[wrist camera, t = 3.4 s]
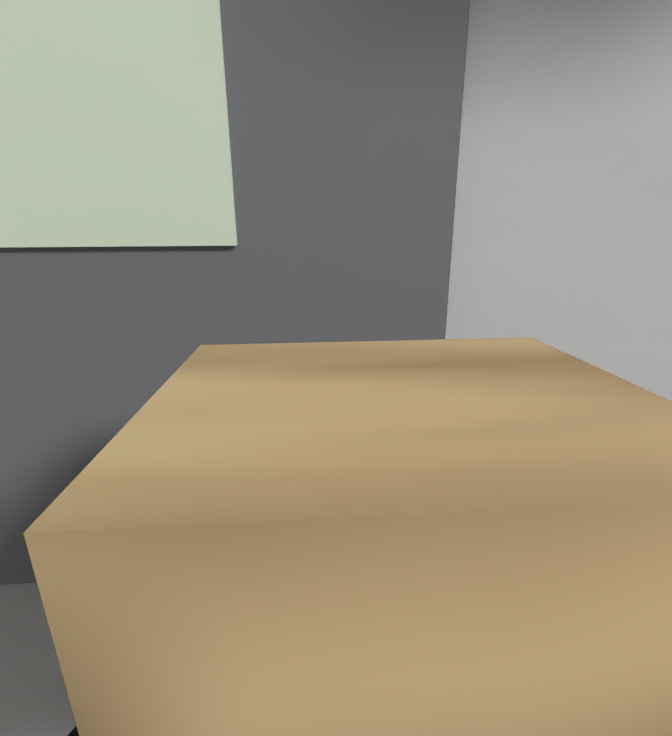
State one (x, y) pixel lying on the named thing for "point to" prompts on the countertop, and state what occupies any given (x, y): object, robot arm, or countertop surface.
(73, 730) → the robot arm
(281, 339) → the mat
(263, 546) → the oak block
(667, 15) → the countertop surface
